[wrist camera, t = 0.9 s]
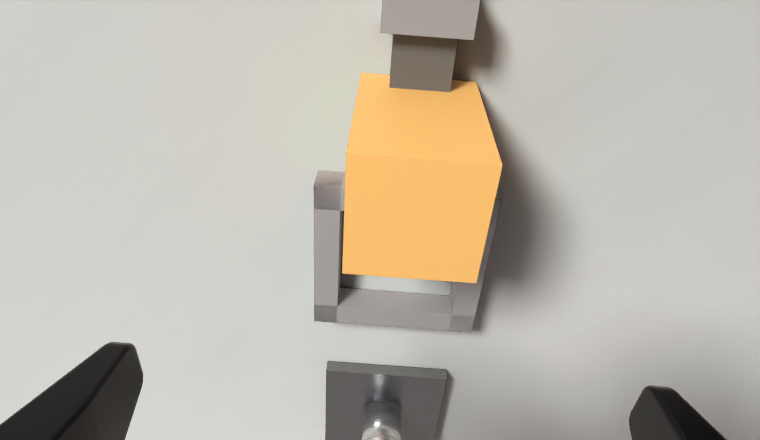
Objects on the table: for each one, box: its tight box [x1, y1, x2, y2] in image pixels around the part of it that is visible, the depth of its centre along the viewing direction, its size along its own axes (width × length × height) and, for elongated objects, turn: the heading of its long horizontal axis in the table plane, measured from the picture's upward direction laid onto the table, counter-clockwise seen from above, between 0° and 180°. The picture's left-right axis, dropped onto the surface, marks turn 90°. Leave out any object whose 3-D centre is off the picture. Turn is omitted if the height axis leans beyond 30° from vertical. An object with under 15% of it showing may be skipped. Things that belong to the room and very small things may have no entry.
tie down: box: [314, 0, 503, 332], centre depth 17 cm, size 20×7×6 cm, turn 177°
